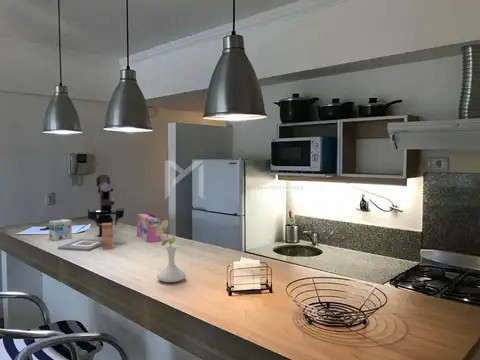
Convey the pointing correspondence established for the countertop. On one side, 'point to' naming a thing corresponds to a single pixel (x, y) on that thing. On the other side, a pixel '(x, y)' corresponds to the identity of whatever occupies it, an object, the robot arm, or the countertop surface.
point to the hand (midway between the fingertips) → (106, 225)
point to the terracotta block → (107, 236)
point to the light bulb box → (60, 229)
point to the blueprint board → (82, 245)
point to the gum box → (148, 227)
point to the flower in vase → (171, 270)
